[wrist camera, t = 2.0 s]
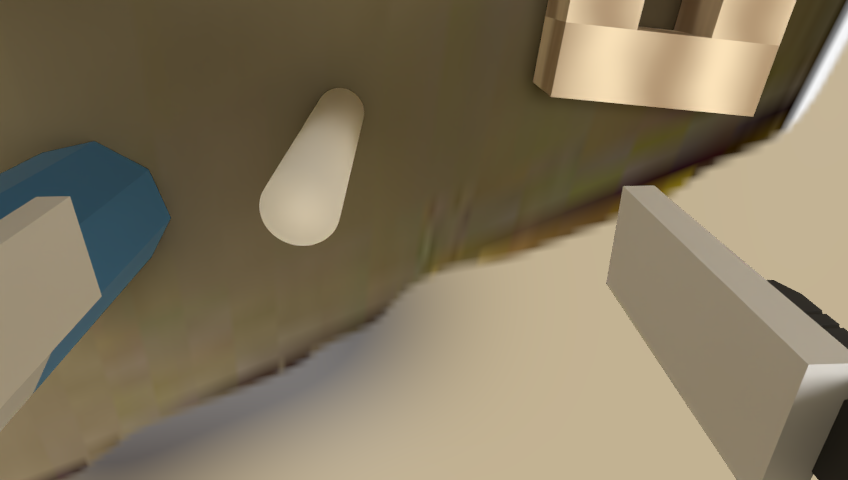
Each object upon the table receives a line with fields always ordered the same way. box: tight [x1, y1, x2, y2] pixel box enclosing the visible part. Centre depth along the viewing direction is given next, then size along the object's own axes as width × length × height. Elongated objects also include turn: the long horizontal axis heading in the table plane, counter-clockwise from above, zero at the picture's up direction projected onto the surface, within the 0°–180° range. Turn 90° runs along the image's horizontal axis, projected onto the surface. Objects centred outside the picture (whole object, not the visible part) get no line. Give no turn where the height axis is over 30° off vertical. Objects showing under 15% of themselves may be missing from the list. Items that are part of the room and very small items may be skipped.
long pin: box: [259, 88, 364, 246], centre depth 27 cm, size 3×3×16 cm
